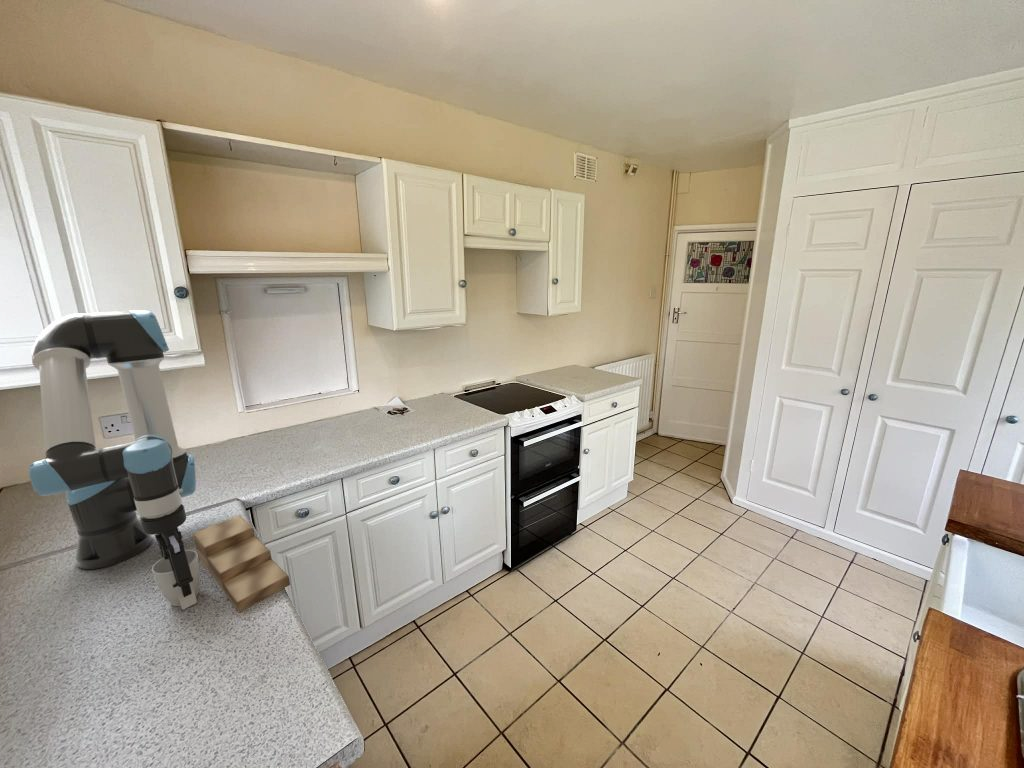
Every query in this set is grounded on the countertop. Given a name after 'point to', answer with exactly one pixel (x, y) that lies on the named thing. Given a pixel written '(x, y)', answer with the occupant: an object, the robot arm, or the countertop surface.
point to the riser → (239, 562)
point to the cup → (167, 578)
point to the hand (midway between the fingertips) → (184, 596)
